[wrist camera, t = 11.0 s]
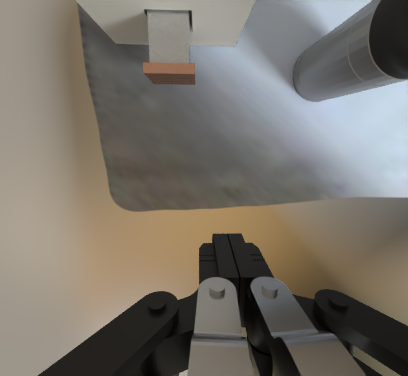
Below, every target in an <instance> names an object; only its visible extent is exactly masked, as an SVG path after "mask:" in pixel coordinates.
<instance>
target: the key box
mask: <svg viewBox="0 0 408 376" xmlns="http://www.w3.org/2000/svg"><path fill="white" fill-rule="evenodd" d="M76 1H77V3H78V4H79V5H80V6H81V7H82V8H83V9H84V10H85V11H86V12H87V13H88V14H89V15H90V17H91V18H92V19H93V20H94V21H95V22H96V23H97V24H98V25H99V26H100V27H101V28H102V29H103V31H104V32H105V33H106V34H107V35H108V36H109V37H110V38H111V39H112V40H113V41H114V42H115V43H116V44H134V45H149V38H148V18H147V9H156V10H190V46H229V47H235V46H236V44H237V42H238V39H239V37H240V35H241V33H242V30H243V28H244V26H245V24H246V22H247V19H248V17H249V15H250V13H251V10H252V8H253V6H254V4H255V1H256V0H76Z"/></svg>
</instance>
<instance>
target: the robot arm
mask: <svg viewBox="0 0 408 376" xmlns="http://www.w3.org/2000/svg"><path fill="white" fill-rule="evenodd" d="M405 80H408V0H372V1H371V2H370V3H369V4H367V5H366V6H365V7H363V8H362V9H361V10H359V11H358V12H356V13H355V14H354V15H352V16H351V17H350V18H348V19H347V20H346V21H344V22H343V23H342V24H340V25H339V26H338V27H336V28H335V29H334V30H332V31H331V32H330V33H328V34H327V35H326V36H324V37H323V38H322V39H320V40H319V41H318V42H316V43H315V44H314V45H312V46H311V47H310V48H308V49H307V50H306V51H304V52H303V54H302V55H301V56H300V57H299V59H298V60H297V62H296V65H295V67H294V72H293V81H294V86H295V88H296V90H297V92H298V93H299V95H301V96H302V97H303V98H304V99H306V100H309V101H313V102H319V101H323V100H327V99H332V98H336V97H340V96H344V95H348V94H353V93H357V92H361V91H365V90H369V89H373V88H377V87H381V86H385V85H389V84H393V83H397V82H401V81H405ZM241 327H245V328H246V332H247V340H246V338H245V337H243V335H242V328H241ZM355 346H356V347H357V348H359V349H360V350H362V351H364V352H365V353H367V354H368V355H370V356H371V357H373V358H375V359H376V360H378V361H379V362H381V363H382V364H384V365H385V366H387V367H388V368H390V369H392V370H393V371H395V372H396V373H398V374H399V375H401V376H408V326H407V325H405V324H403V323H401V322H399V321H397V320H395V319H393V318H391V317H389V316H387V315H385V314H383V313H381V312H379V311H377V310H375V309H373V308H371V307H369V306H367V305H365V304H363V303H361V302H359V301H357V300H355V299H353V298H351V297H349V296H347V295H345V294H343V293H341V292H338V291H335V290H329V289H324V290H320V291H318V292H317V293H316V294H315V298H314V299H310V298H306V297H301V296H296V295H294V294H291V292H290V290H289V289H288V288H287V286H286V285H285V284H284V283H282V282H281V281H279V280H277V279H275V278H274V277H273V275H272V273H271V271H270V269H269V267H268V265H267V263H266V262H265V259H264V258H263V256H262V254H261V252H260V250H259V248H258V247H257V246H255V245H254V244H253V243H245V241H244V239H243V236H242V234H213V237H212V243H204V244H202V246H201V247H200V248H199V288H198V289H197V291H196V292H195V293H194V294H192V295H191V296H188V297H186V298H183V299H180V300H177V298H176V297H175V296H174V295H173V294H171V293H169V292H165V291H159V292H153V293H150V294H148V295H146V296H145V297H143V298H142V299H141V300H139V301H138V302H137V303H135V304H134V305H132V306H131V307H130V308H128V309H127V310H126V311H124V312H123V313H122V314H120V315H119V316H118V317H116V318H115V319H114V320H112V321H111V322H110V323H108V324H107V325H105V326H104V327H103V328H101V329H100V330H99V331H97V332H96V333H95V334H93V335H92V336H91V337H89V338H88V339H87V340H85V341H84V342H83V343H81V344H80V345H78V346H77V347H76V348H74V349H73V350H72V351H70V352H69V353H68V354H67V355H65V356H64V357H62V358H61V359H60V360H58V361H57V362H56V363H54V364H53V365H52V366H50V367H49V368H48V369H46V370H45V371H43V372H42V373H41V374H39V375H38V376H179V373H180V372H183V371H185V370H187V369H188V376H253V375H252V368H251V364H252V367H253V370H254V373H255V376H382V375H381V374H379V373H378V372H376V371H375V370H373V369H372V368H370V367H369V366H367V365H366V364H364V363H363V362H361V361H360V360H358V359H357V358H355V357H354V356H353V353H354V349H355ZM250 360H251V362H250Z"/></svg>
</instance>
